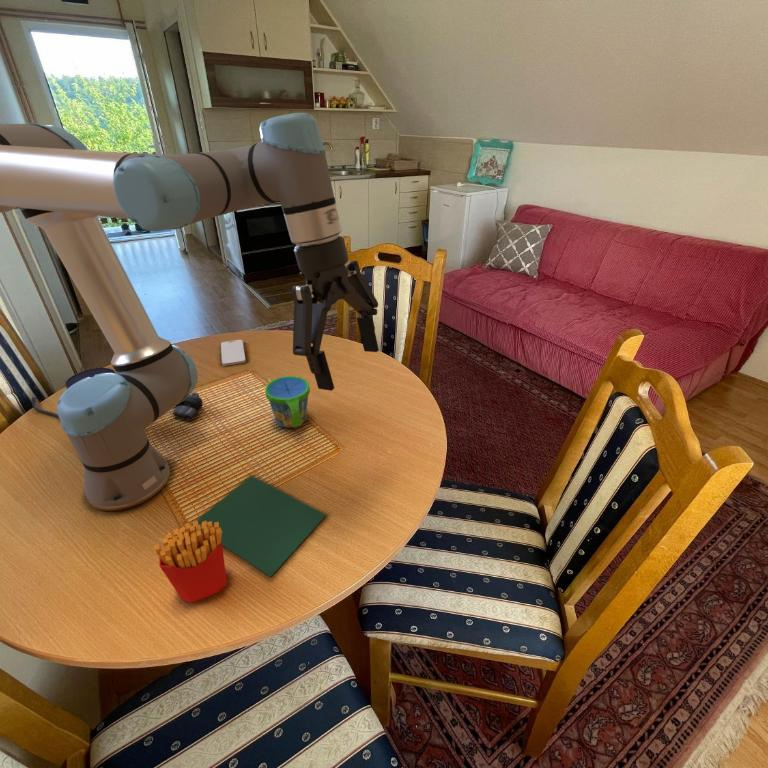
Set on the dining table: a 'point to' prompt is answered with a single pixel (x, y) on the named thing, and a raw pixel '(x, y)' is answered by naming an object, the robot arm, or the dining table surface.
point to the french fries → (194, 560)
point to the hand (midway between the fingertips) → (350, 368)
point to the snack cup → (288, 400)
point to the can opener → (189, 407)
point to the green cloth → (262, 524)
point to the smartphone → (232, 352)
